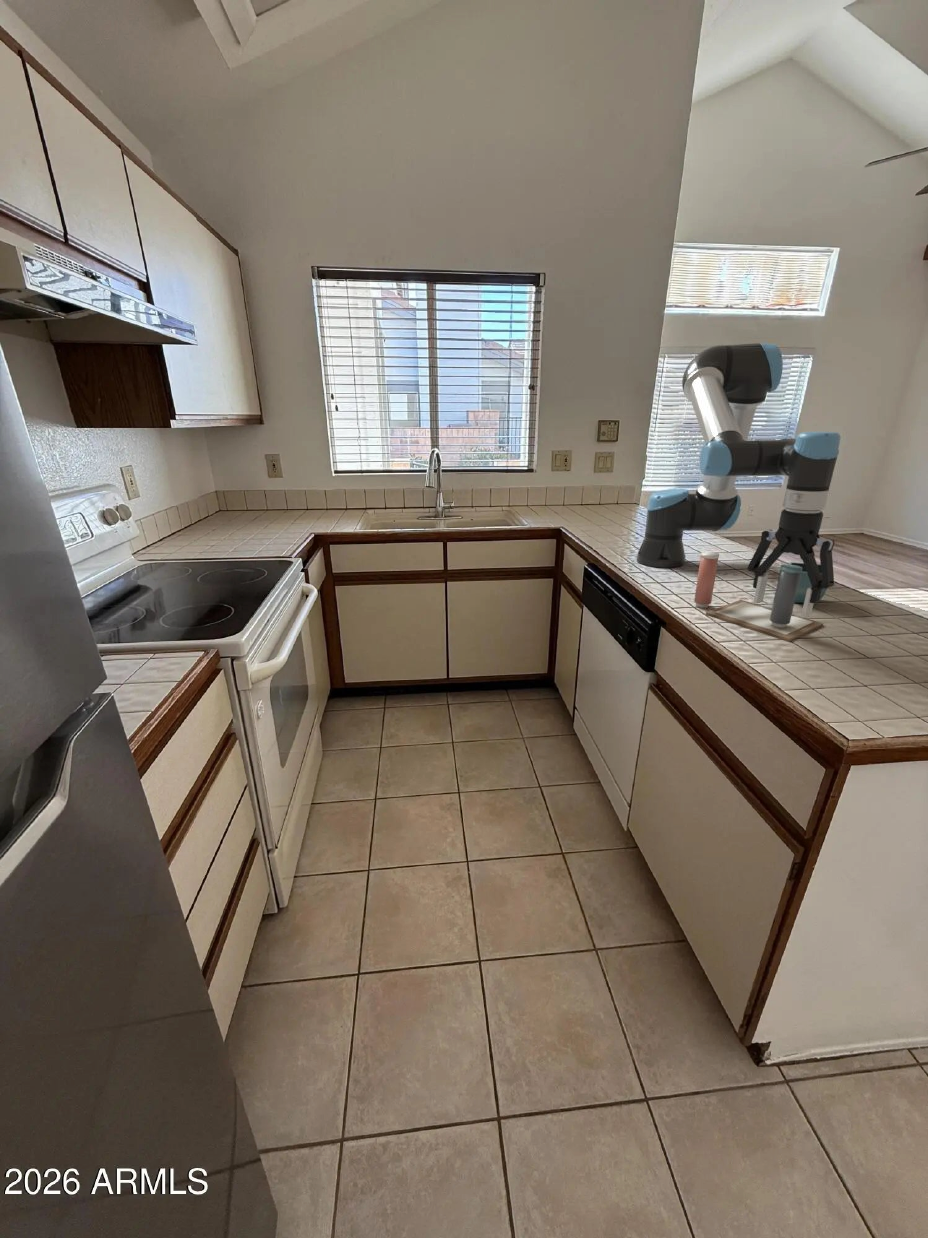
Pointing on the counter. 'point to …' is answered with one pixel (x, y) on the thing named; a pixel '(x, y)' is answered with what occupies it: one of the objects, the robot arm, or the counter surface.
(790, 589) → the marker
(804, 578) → the flower pot
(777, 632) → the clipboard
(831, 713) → the counter surface
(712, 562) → the pink bottle
